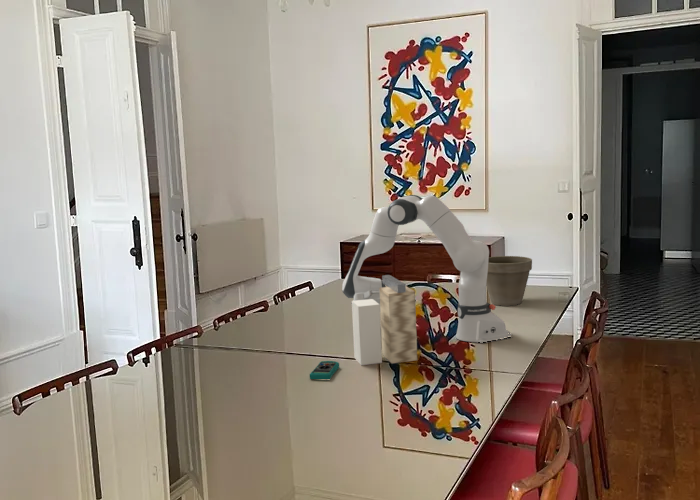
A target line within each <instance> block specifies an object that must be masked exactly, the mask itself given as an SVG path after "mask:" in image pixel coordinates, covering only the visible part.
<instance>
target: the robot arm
mask: <svg viewBox="0 0 700 500" xmlns="http://www.w3.org/2000/svg"><path fill="white" fill-rule="evenodd" d="M417 220H421V221H422V222H424V223H425V225H426V226H427V227H428V228H429V229H430V231H431V232H432V233H433V234H434V235H435V236H436V237H437V239H438V240H439V241H440V243H441V244H442V245H443V247H444V248H445V250H446V252H447V253H448V255H449V257H450V258H451V260H452V263H453V265H454V267H455V268H456V269H457V270H458V271H459V272H460V273H459V275H460V276H459V279H458V280H459V281H458V303H457V316H458V321H457V322H458V323H457V329H456V334H455V338H456V339H457V340H459V341H463V342H470V343H478V342H480V343H479V344H484V343H483V342H486V343H488V342H487V341H491V340H496V339H500V338H504V337H508V336H511V335H512V336H513V334H512V332H510V331H509V330H507V327H506V323H505V321H504V320H503V319H502V318H501V317H500V316H498V315H497V314H495V313H494V312H492V311H494V310H495V309H496V305H494V304H492V303H489V302H487V300H488V299H487V286H486V282H487V273H488V259H489V257H490V249H489V246H488V245H487V244H486V243H485V242H483V241H481V240H475V239H474V240H472V239H471V237H470V235H469V234H468V232H467V231H466V229H465V226H464V224H463V223H462V221H460V220H459V218H458V217H457V216H456V215H455V214H454V212H453V211H452V210H451V209H450V208H449V207H448V206H447V205H446V203H444V202H443V201H442V200H441V199H439V198H438V196H436V195H433V194H432V195H431V194H430V195H427V196H424V197H421V196H420V195H415V194H410V195H406V196H402V197H401V196H400V197H399V198H397V199H395V200H393V201H391V203H390V204H389V205H388V206H382V207H379V208H378V209H377V210H376V212H375V214H374V218H373V220H372V224H371V227H370V232H369V234H368V236H367V237H366V238H365V239H364V240H361V241H360V243H359V244H358V246H357V249H356V251H355V253H354V256H353V258H352V261H351V263H350V266H349V268H348V271H347V273H346V275H345V278H344V279H343V281H342V283H341V284H342V285H341V286H342V287H341V289H342V290H341V291H342V293H343V295H344V296H345V297H346V298H348V299H352V301H356V300H366V299H373V300H374V301H376V302H377V303H378V304H380V289H379V288H382V287H387V286H386V285H385V284H383V283H382V278H376V277H371V276H370V277H369V276H368V277H367V276H361V275H359V273H360V270H361V267H362V265H363V263H364V261H365V260H366V259H367V258H369V257H372V256H376V255H380V254H384V253H387V252H388V251H390V250H391V249H392V248H394V245H395V241H396V238H397V232H398V229H399V226H403V225H408V224H411V223H413V222H415V221H417ZM352 301H351V305H352ZM508 333H509V334H508ZM510 333H511V334H510ZM496 341H497V340H496ZM491 342H492V341H491Z"/></svg>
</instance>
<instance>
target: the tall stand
mask: <svg viewBox="0 0 700 500" xmlns="http://www.w3.org/2000/svg"><path fill="white" fill-rule="evenodd" d="M379 289H380V326H381V350H382V357H384V358H385V359H387V361H388V362H389V363H390V364H397V363H405V362H413V361H418V340H417V337H418V335H417V316H416V315H417V314H416V291H415V290H413V289H412V288H410V287H408V286H407V285H406V292H403V293H397V292H396V291H394V290H392V289H391V288H389V287H388V286H386V287H382V288H379Z"/></svg>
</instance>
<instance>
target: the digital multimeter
mask: <svg viewBox="0 0 700 500" xmlns="http://www.w3.org/2000/svg"><path fill="white" fill-rule="evenodd" d="M337 369H338V370H339V369H340V363H339V362H338V361H333V360H322V361H319V363H318V364H317V365H316V367H315V368H314V369H313V370H312V371H311V372H310V373H309V380H310V379H330V380H331V379H332V377H333V376H334V375H335V373H336V372H337Z"/></svg>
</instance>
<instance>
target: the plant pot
mask: <svg viewBox="0 0 700 500" xmlns="http://www.w3.org/2000/svg"><path fill="white" fill-rule="evenodd" d="M532 267H533V259H532V258H531V257H526V256H520V255H518V256H517V255H497V256H489V259H488V273H487V282H486V291H487V293H488V296H489V300H490V304H493V305H495V306H499V305H501V307H511V306H510V305H514V306H518V305H517V304H519V305H521V304H522V302H523V299H524V296H525V292H526V288H527V285H528V280H529V276H530V273H531V272H530V271H531V270H532ZM520 303H521V304H520Z"/></svg>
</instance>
